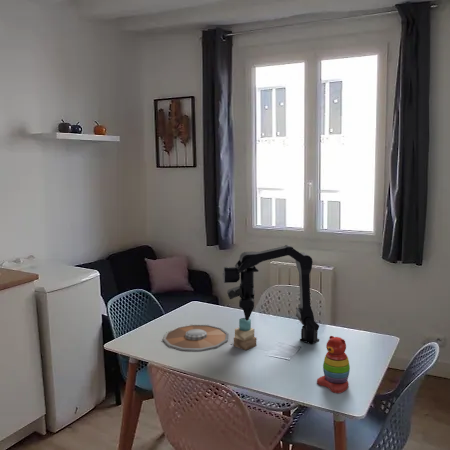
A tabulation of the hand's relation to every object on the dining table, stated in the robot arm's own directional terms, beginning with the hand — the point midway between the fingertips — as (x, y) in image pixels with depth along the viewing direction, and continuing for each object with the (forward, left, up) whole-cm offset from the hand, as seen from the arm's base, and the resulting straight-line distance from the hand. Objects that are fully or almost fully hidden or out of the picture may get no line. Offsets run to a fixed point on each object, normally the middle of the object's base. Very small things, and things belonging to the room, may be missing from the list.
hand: (247, 316), depth 207 cm
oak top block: (0, +2, -9) cm, 9 cm away
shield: (+22, +10, -14) cm, 28 cm away
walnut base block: (0, +1, -13) cm, 13 cm away
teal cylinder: (0, +1, -5) cm, 5 cm away
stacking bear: (-47, +5, -13) cm, 49 cm away
